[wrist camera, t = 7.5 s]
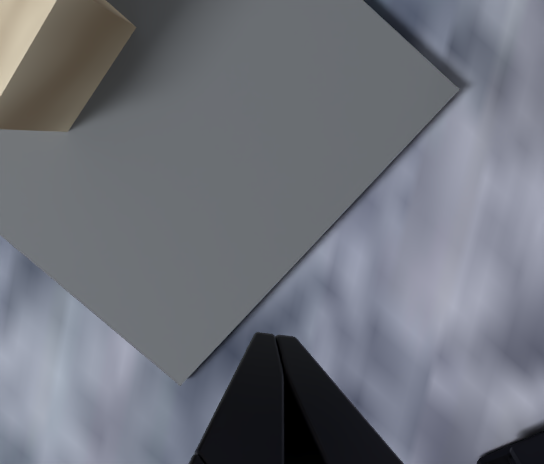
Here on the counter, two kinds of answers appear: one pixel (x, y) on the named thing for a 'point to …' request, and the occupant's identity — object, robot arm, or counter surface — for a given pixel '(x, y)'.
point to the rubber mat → (212, 161)
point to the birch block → (55, 59)
